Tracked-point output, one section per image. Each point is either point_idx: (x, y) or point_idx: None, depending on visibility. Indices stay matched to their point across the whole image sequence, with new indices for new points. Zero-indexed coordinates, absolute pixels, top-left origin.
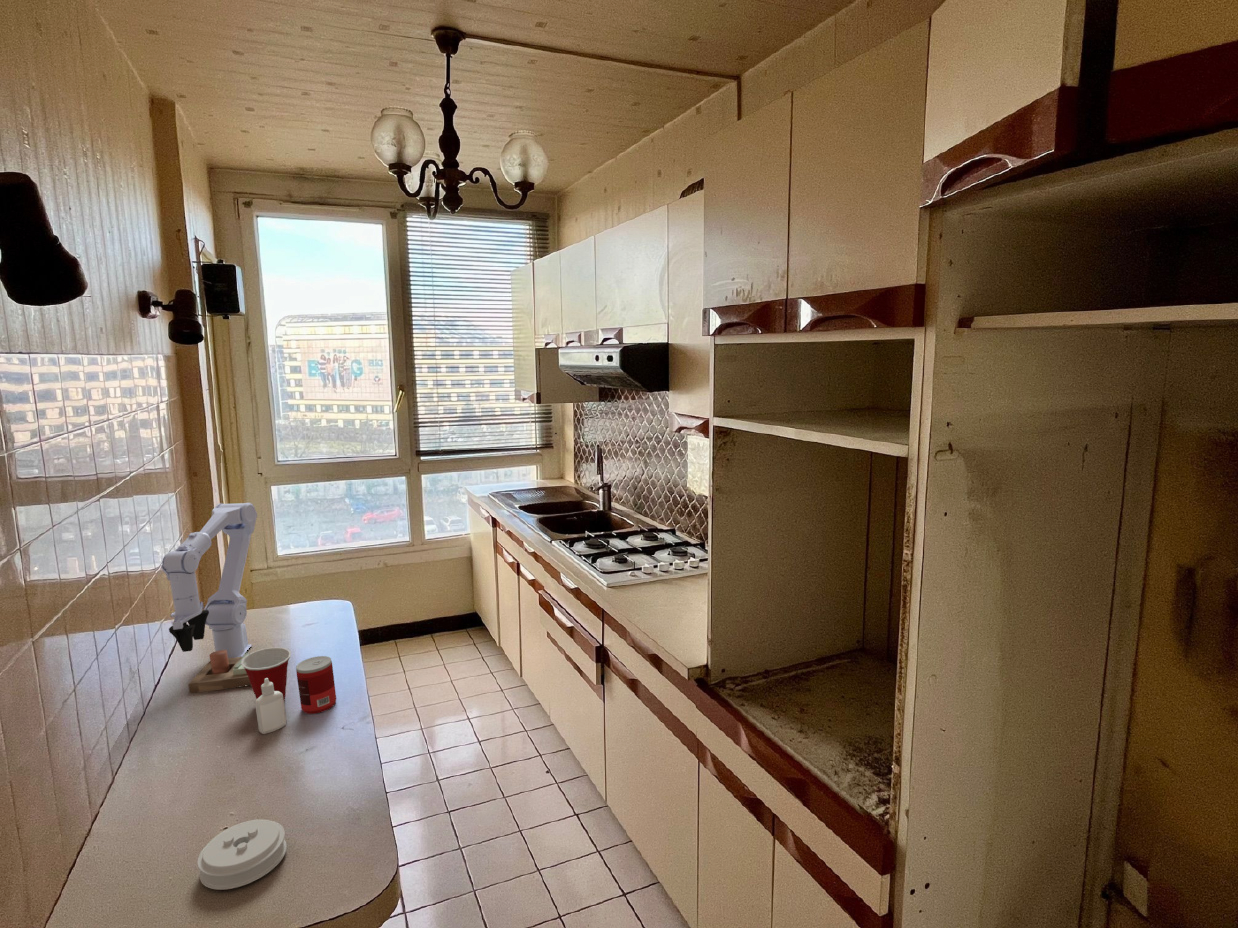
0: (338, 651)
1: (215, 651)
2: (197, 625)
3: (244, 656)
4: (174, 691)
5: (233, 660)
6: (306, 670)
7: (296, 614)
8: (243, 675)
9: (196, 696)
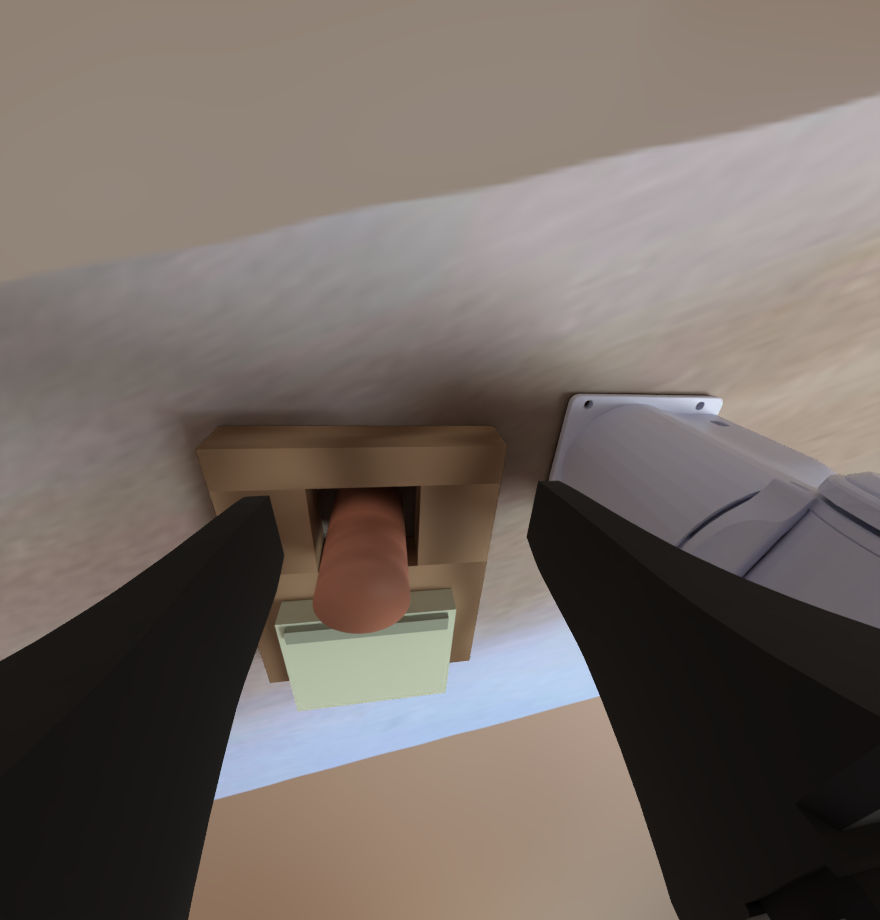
0: (468, 716)
1: (397, 580)
2: (614, 637)
3: (406, 625)
4: (246, 330)
5: (456, 546)
6: None
7: None
8: (275, 631)
9: (180, 469)
